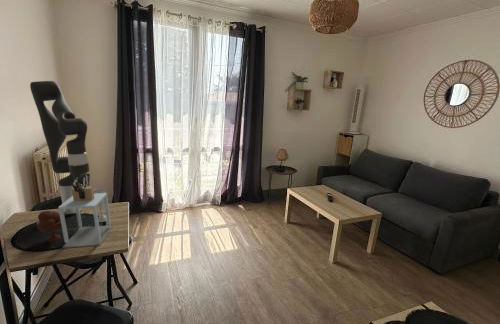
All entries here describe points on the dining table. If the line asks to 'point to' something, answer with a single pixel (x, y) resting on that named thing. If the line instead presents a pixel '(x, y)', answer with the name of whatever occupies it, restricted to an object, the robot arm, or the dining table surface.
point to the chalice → (101, 204)
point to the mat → (87, 237)
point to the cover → (88, 202)
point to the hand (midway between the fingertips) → (83, 197)
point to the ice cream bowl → (49, 224)
